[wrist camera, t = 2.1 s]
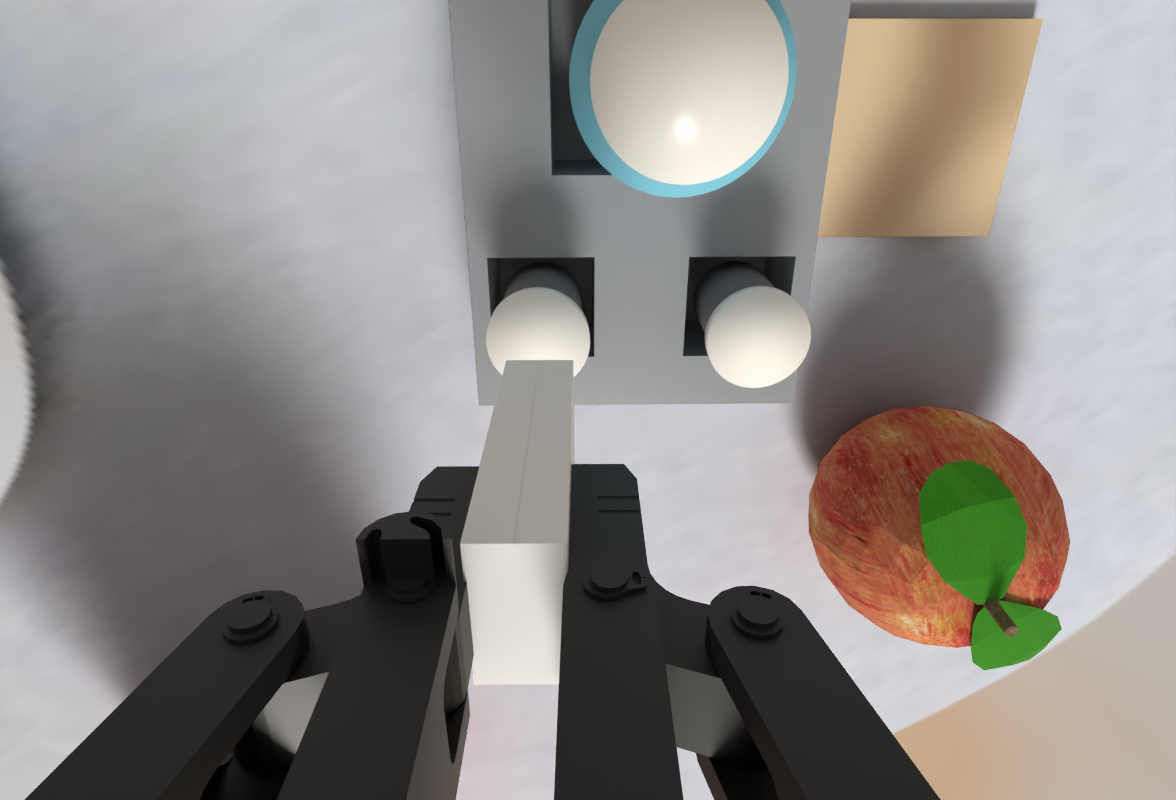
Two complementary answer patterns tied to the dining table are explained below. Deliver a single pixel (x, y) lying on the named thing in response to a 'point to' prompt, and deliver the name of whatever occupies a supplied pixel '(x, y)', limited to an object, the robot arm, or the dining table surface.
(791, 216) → the housing
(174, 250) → the dining table surface
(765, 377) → the plunger
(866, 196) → the coaster
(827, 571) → the fruit
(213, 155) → the dining table surface
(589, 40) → the cartridge
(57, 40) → the dining table surface
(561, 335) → the plunger
